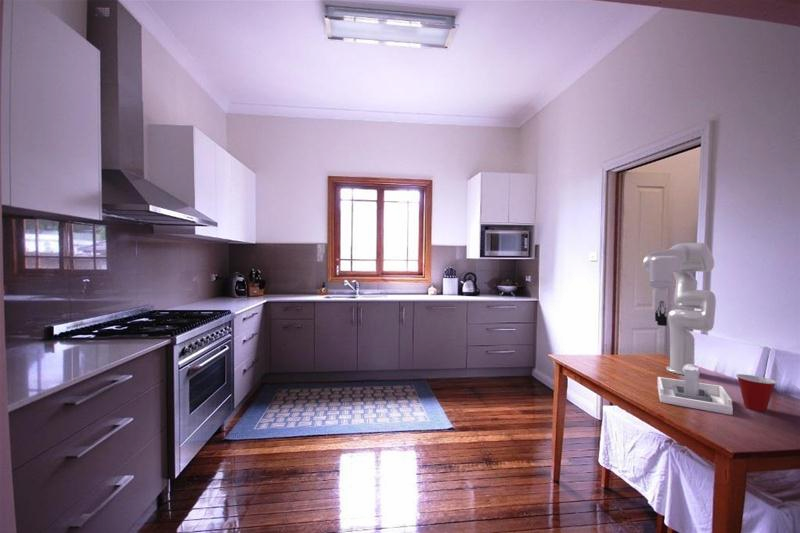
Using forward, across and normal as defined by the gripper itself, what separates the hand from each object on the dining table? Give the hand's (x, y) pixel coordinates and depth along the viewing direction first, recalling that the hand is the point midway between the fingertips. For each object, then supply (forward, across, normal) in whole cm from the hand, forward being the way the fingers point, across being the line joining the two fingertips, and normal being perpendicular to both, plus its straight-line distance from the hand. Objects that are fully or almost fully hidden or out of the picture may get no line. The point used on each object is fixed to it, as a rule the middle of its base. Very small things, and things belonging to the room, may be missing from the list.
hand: (660, 323), depth 150 cm
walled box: (+29, +10, +9) cm, 32 cm away
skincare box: (+28, +10, +9) cm, 31 cm away
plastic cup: (+29, +7, +28) cm, 41 cm away
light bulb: (+29, -9, +11) cm, 33 cm away
